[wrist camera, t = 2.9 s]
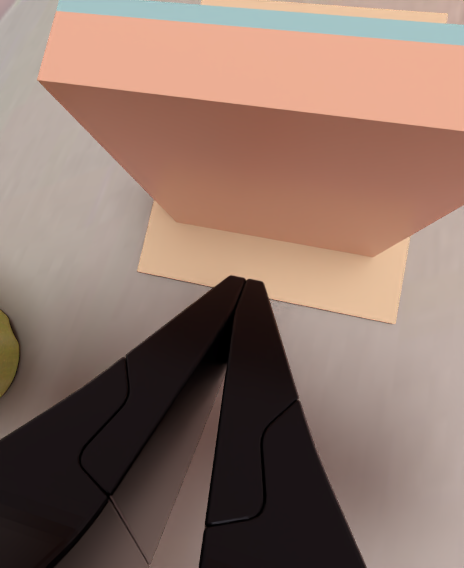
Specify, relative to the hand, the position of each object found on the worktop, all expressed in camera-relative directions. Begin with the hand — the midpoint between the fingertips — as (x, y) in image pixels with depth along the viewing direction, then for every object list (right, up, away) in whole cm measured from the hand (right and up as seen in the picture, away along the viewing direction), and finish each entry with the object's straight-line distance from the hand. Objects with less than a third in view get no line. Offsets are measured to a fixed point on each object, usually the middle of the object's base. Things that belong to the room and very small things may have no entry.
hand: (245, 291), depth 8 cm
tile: (+2, +3, +8) cm, 9 cm away
